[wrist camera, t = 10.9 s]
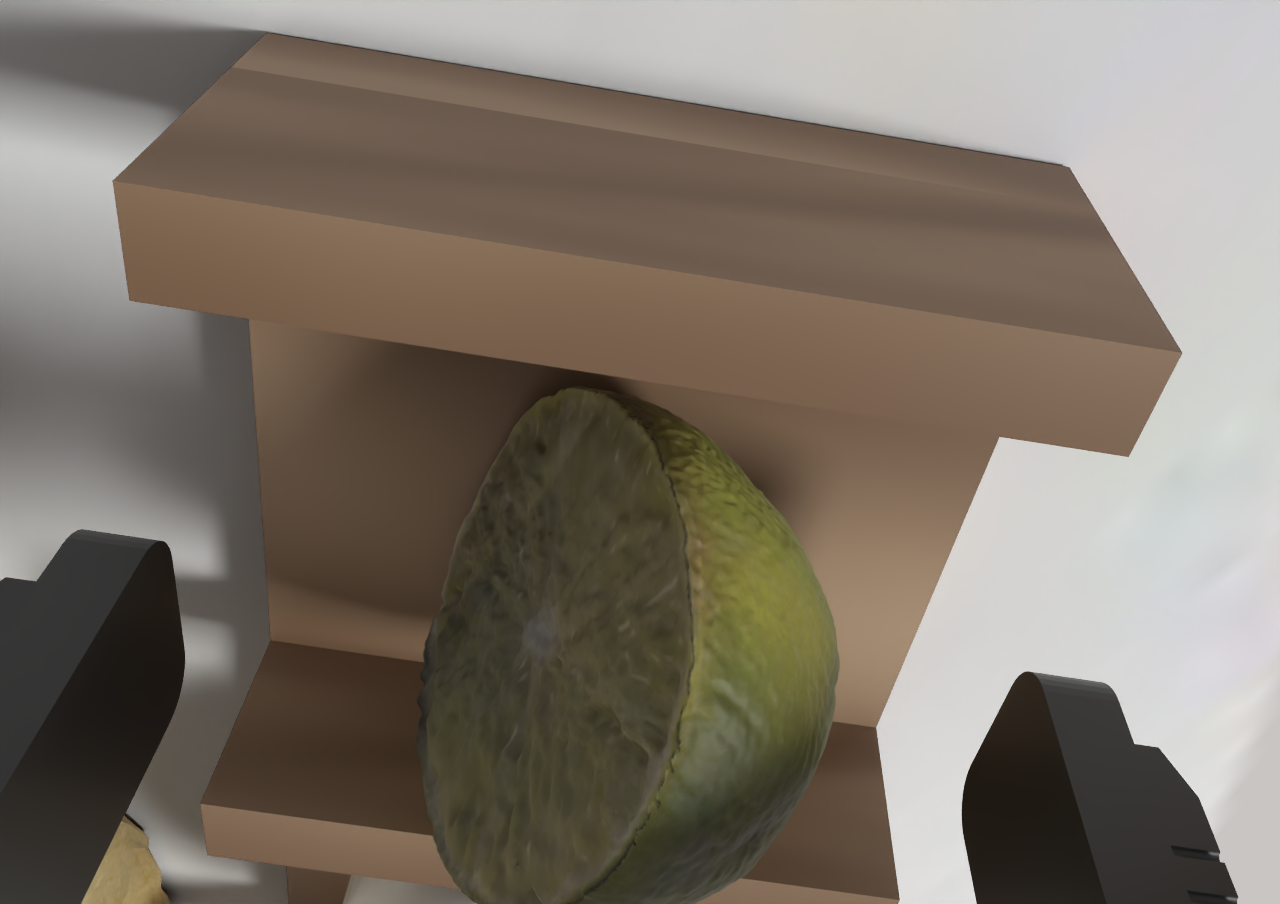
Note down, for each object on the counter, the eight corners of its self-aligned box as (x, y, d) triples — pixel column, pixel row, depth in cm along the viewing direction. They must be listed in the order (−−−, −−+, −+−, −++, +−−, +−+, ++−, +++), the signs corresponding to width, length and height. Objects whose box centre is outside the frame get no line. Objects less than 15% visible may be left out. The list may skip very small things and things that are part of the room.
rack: (266, 33, 11) (112, 180, 8) (1069, 166, 11) (1182, 352, 9) (310, 922, 21) (245, 1129, 18) (744, 980, 21) (748, 1193, 18)
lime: (459, 646, 15) (363, 1041, 11) (392, 317, 12) (222, 692, 8) (811, 647, 14) (847, 1056, 10) (829, 310, 11) (887, 695, 7)
